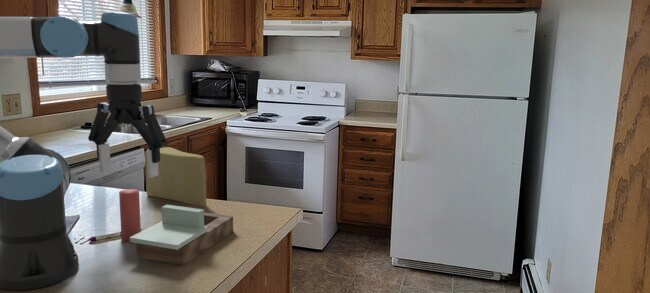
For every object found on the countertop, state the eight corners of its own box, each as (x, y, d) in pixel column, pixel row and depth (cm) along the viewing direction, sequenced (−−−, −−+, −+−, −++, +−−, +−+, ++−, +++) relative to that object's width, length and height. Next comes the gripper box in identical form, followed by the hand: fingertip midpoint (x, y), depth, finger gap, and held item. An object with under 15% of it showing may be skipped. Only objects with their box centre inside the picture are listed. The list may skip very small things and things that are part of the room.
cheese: (217, 202, 150) (216, 154, 147) (192, 210, 142) (190, 159, 139) (171, 189, 162) (169, 145, 160) (145, 196, 155) (143, 149, 152)
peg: (132, 244, 117) (130, 195, 114) (117, 241, 118) (115, 193, 115) (144, 237, 121) (143, 190, 118) (129, 234, 122) (127, 188, 120)
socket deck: (183, 265, 106) (182, 247, 105) (136, 256, 109) (135, 239, 109) (233, 231, 126) (233, 216, 126) (192, 225, 130) (192, 210, 129)
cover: (177, 249, 103) (176, 227, 102) (129, 241, 107) (128, 219, 106) (208, 230, 114) (207, 210, 113) (163, 224, 118) (163, 204, 117)
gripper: (180, 84, 112) (183, 174, 116) (92, 80, 120) (98, 165, 124) (159, 86, 105) (164, 182, 109) (67, 81, 113) (74, 172, 117)
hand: (129, 173), depth 116 cm, fingers open, 13 cm apart
